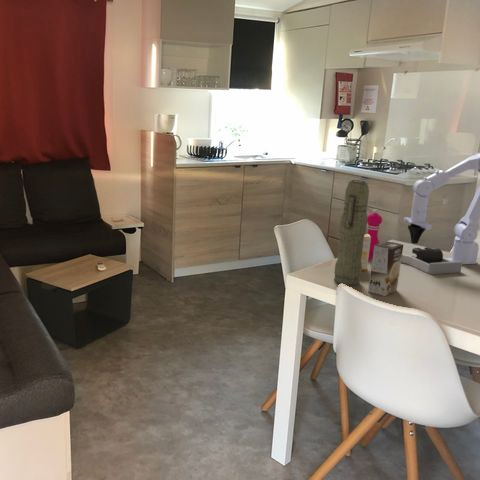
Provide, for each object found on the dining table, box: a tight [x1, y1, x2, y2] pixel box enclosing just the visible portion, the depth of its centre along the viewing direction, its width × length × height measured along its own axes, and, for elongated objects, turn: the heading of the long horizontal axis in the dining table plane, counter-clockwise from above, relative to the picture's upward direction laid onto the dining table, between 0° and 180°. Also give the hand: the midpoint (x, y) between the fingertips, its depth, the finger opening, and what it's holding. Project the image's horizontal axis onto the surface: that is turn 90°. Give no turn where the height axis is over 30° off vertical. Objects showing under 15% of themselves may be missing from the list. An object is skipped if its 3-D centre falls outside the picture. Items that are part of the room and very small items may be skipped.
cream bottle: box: [361, 233, 371, 271], centre depth 201 cm, size 8×5×13 cm, turn 84°
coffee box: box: [367, 240, 404, 297], centre depth 178 cm, size 9×6×16 cm
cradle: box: [401, 253, 463, 275], centre depth 211 cm, size 18×17×4 cm
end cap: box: [411, 246, 444, 264], centre depth 212 cm, size 10×7×7 cm
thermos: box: [333, 179, 370, 287], centre depth 182 cm, size 9×12×35 cm
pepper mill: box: [366, 209, 383, 261], centre depth 215 cm, size 7×7×20 cm
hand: (414, 243), depth 219 cm, fingers closed
